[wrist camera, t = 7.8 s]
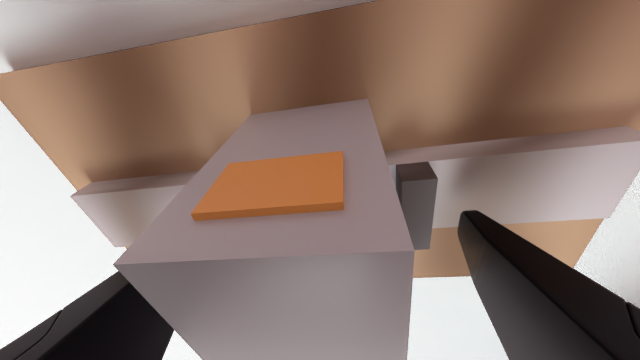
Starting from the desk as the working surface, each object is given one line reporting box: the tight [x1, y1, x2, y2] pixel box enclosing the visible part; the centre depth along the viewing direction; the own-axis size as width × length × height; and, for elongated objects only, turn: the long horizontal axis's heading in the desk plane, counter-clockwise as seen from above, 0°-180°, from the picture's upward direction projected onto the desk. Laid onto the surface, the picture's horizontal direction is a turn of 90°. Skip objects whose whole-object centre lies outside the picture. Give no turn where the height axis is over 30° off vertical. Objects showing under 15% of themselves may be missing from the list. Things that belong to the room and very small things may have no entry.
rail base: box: [0, 0, 640, 278], centre depth 10 cm, size 22×12×3 cm, turn 99°
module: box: [113, 99, 415, 360], centre depth 8 cm, size 4×7×6 cm, turn 9°
